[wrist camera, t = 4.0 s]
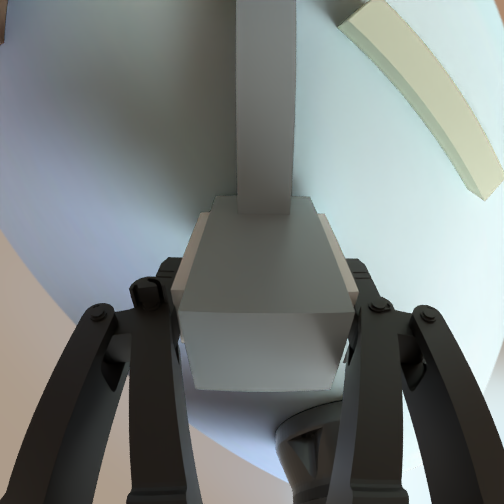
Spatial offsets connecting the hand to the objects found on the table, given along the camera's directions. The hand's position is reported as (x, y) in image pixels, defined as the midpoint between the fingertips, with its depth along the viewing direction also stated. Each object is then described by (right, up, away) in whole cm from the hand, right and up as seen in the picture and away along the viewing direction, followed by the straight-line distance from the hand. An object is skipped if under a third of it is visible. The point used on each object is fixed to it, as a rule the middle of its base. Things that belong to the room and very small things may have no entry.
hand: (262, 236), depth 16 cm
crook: (-3, +8, -4) cm, 9 cm away
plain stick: (+10, +8, -3) cm, 13 cm away
